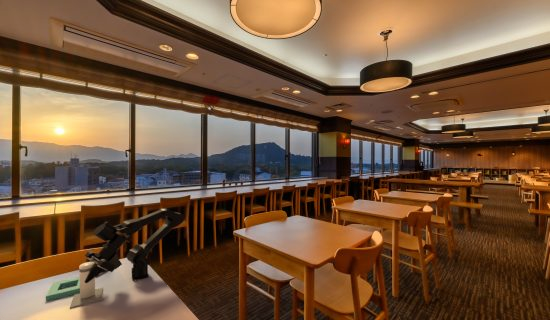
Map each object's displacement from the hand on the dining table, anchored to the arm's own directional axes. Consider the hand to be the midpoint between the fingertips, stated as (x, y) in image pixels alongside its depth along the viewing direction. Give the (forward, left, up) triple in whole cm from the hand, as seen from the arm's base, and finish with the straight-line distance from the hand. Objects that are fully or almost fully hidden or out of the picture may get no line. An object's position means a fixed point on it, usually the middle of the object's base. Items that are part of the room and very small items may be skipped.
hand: (83, 280), depth 98 cm
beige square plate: (-1, -1, -8) cm, 8 cm away
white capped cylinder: (-1, -1, -7) cm, 7 cm away
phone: (-5, -28, -9) cm, 29 cm away
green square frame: (+7, -14, -8) cm, 17 cm away
